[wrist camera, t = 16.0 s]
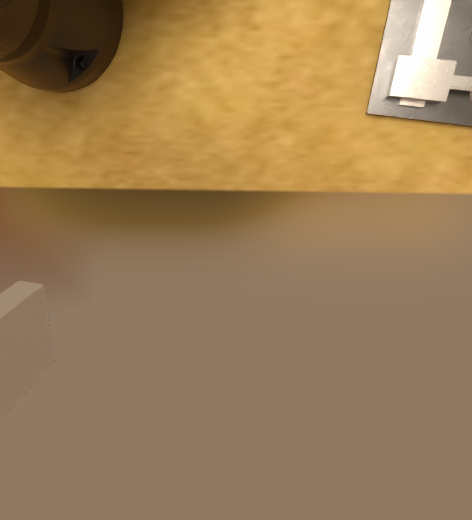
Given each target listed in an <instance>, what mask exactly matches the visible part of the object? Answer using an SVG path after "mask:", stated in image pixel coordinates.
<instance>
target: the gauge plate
mask: <svg viewBox="0 0 472 520" xmlns="http://www.w3.org/2000/svg"><path fill="white" fill-rule="evenodd" d="M366 113H367V114H375V115H383V116H392V117H400V118H408V119H416V120H424V121H432V122H441V123H449V124H457V125H465V126H472V0H390V5H389V9H388V14H387V19H386V23H385V28H384V33H383V37H382V42H381V47H380V51H379V56H378V61H377V65H376V70H375V74H374V79H373V84H372V88H371V93H370V98H369V102H368V107H367V112H366Z"/></svg>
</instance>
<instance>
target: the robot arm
mask: <svg viewBox="0 0 472 520" xmlns="http://www.w3.org/2000/svg"><path fill="white" fill-rule="evenodd" d="M122 19H123V9H122V0H0V70H2V71H3V72H5V73H7V74H8V75H10V76H11V77H13V78H14V79H16V80H18V81H19V82H21V83H23V84H26V85H28V86H31V87H34V88H37V89H42V90H49V91H59V92H65V91H72V90H76V89H80V88H82V87H84V86H86V85H88V84H90V83H91V82H93V81H94V80H95V79H97V78H98V77H99V76H100V75H101V74H102V73H103V72H104V70H105V69H106V68H107V66H108V65H109V63H110V62H111V60H112V58H113V56H114V54H115V52H116V49H117V46H118V43H119V39H120V35H121V30H122ZM53 362H54V353H53V346H52V339H51V332H50V325H49V318H48V312H47V305H46V298H45V291H44V285H42V284H36V283H30V282H25V281H18V282H17V283H15V284H14V285H12V286H11V287H9V288H8V289H7V290H5V291H4V292H2V293H1V294H0V420H1V419H2V418H3V417H4V416H5V415H6V414H7V413H8V412H9V411H10V410H11V408H12V407H13V406H14V405H15V404H16V403H17V402H18V401H19V400H20V399H21V397H22V396H23V395H24V394H25V393H26V392H27V391H28V390H29V389H30V388H31V387H32V385H33V384H34V383H35V382H36V381H37V380H38V379H39V378H40V376H41V375H42V374H43V373H44V372H45V371H46V370H47V369H48V368H49V367H50V366H51V365H52V363H53Z"/></svg>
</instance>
